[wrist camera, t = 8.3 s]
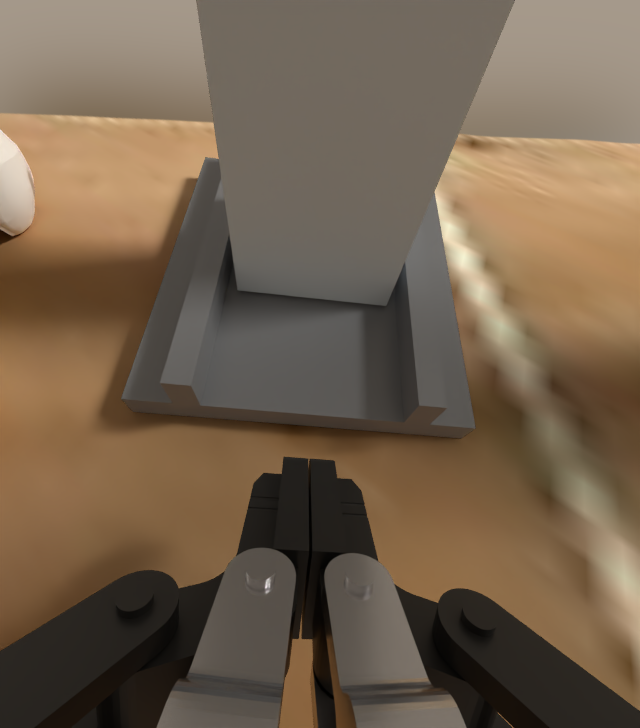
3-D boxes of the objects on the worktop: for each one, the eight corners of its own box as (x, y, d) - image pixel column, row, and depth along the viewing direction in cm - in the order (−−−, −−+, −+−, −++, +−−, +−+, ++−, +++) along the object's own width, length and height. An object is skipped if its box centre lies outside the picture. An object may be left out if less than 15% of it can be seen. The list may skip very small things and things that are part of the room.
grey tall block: (385, 239, 22) (522, -172, 10) (389, 309, 19) (586, -136, 7) (248, 223, 22) (209, -235, 9) (233, 292, 19) (151, -223, 7)
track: (425, 205, 27) (451, 143, 23) (461, 438, 18) (512, 402, 14) (209, 177, 26) (197, 108, 22) (132, 411, 17) (89, 365, 13)
